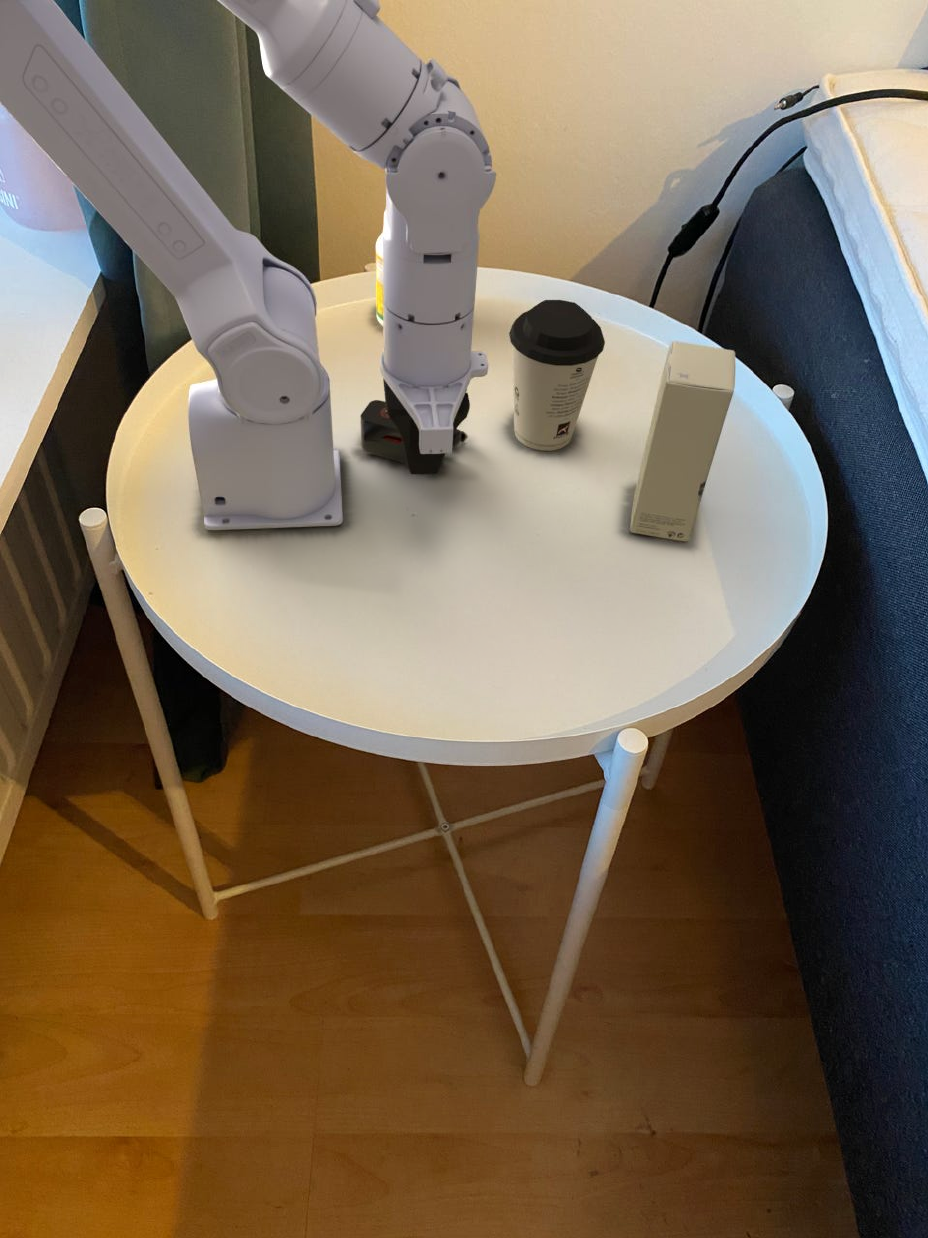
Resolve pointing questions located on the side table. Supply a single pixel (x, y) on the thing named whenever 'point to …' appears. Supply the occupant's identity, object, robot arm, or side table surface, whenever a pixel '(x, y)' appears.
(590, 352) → the coffee cup
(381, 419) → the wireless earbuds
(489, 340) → the side table surface
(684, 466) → the box
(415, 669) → the side table surface
